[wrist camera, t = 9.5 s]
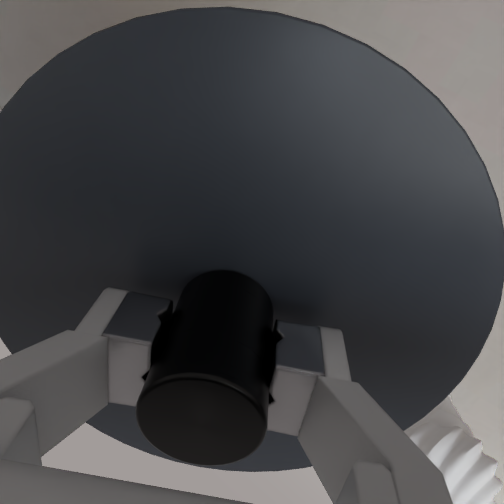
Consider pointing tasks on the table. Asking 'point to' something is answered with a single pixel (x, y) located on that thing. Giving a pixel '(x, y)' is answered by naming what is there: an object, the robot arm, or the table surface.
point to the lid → (247, 220)
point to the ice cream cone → (456, 455)
